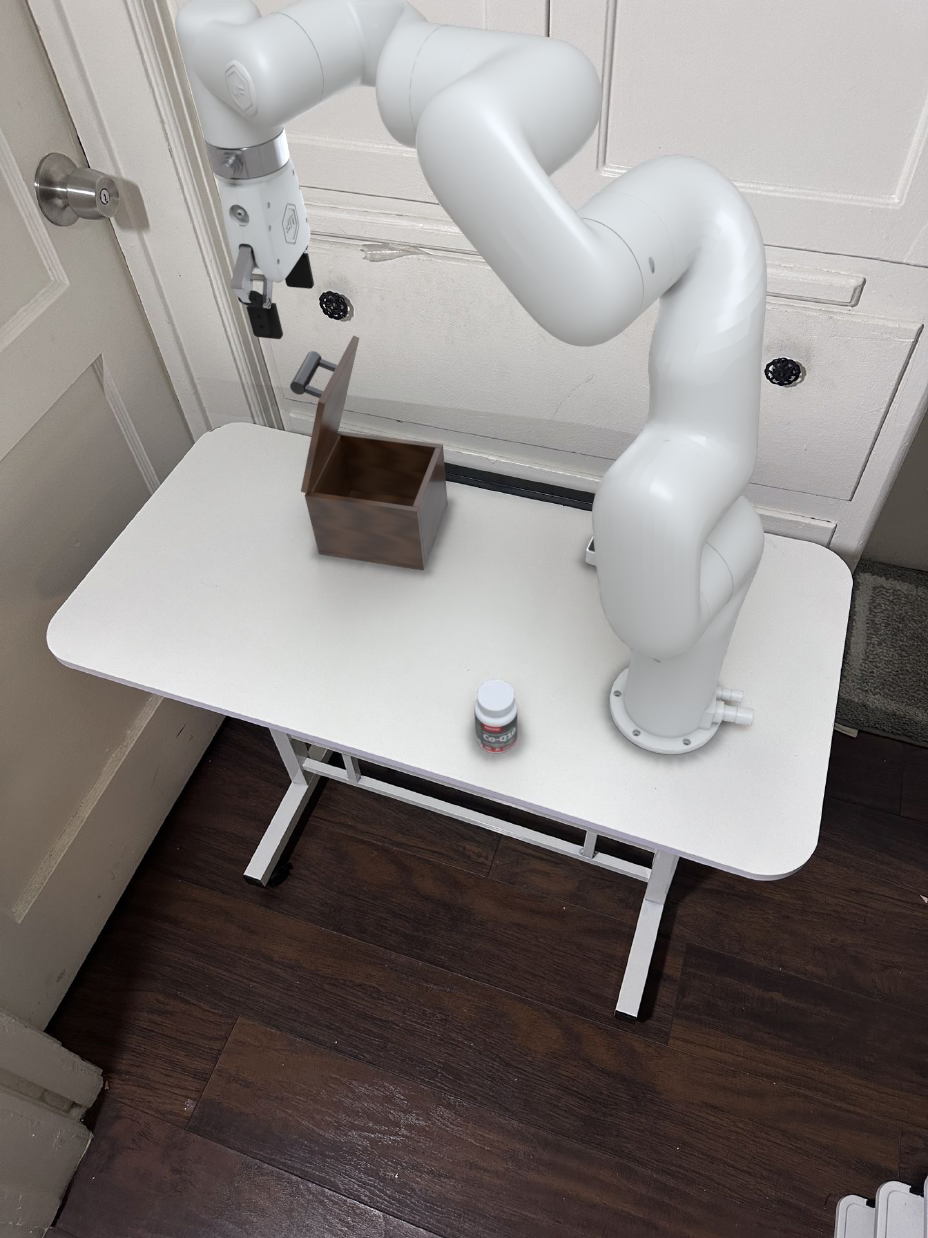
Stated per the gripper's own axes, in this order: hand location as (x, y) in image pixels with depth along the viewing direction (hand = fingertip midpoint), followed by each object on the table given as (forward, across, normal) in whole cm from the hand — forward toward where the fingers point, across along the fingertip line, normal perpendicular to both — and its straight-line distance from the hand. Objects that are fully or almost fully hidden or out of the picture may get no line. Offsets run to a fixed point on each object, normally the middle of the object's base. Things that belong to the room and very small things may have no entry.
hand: (285, 310), depth 101 cm
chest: (+33, 0, -7) cm, 34 cm away
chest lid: (+14, 0, -3) cm, 15 cm away
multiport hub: (+34, 0, -42) cm, 54 cm away
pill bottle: (+34, -28, -29) cm, 53 cm away
